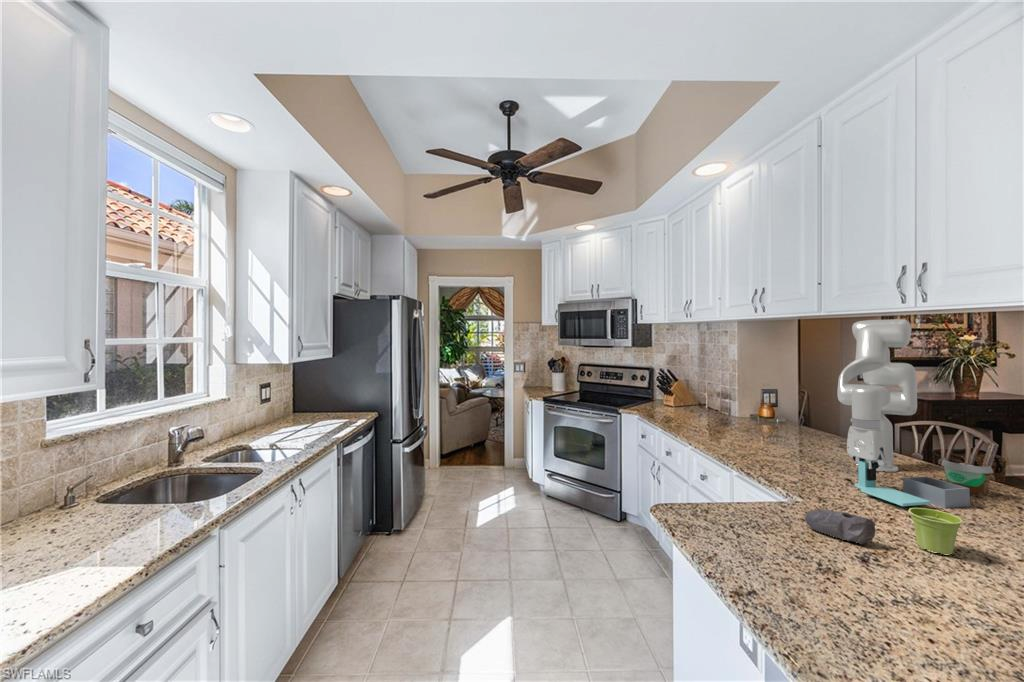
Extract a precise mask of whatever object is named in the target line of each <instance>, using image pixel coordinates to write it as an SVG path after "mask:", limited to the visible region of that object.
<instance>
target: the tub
mask: <svg viewBox="0 0 1024 682" xmlns="http://www.w3.org/2000/svg"><path fill="white" fill-rule="evenodd" d="M902 492H904V493H907V494H910V495H913V496H916V497H919V498H922V499H925V500H928V501H931V504H930V505H935V506H937V507H940V508H942V509H943V508H944V509H953V508H962V507H963V508H965V507H971V505H970V503H971V502H970V501H971V500H970V498H971V497H970V495H971V494H970V490H969V488H966V487H963V486H959V485H956V484H952V483H948V482H947V481H944V480H941V479H937V478H933V477H930V476H925V475H924V476H923V475H922V476H912V477H910V476H909V477H908V476H907V477H902Z"/></svg>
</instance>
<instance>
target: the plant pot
mask: <svg viewBox="0 0 1024 682" xmlns="http://www.w3.org/2000/svg"><path fill="white" fill-rule="evenodd" d="M908 513H909V514H910V516H911V519H912V521H913V527H914V531H915V536H916V542H917V546H918V545H919V546H920V547H922V548H924V549H927V550H930V551H933V552H937V553H941V554H940V555H942V554H951V553H953V554H954V549H955V545H956V539H957V535H958V530H959V529H960V526H961V524H962V523H963V519H962V518H960V517H959V516H956V515H954V514H951V513H949V512H946V511H945V512H944V511H941V510H937V509H932V508H926V507H909V509H908ZM919 546H918V547H919ZM920 547H919V548H920Z"/></svg>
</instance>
